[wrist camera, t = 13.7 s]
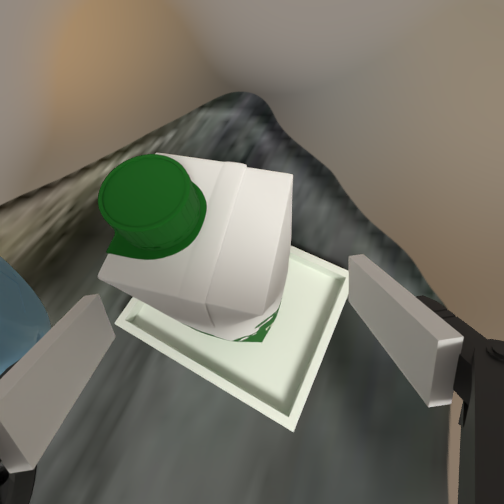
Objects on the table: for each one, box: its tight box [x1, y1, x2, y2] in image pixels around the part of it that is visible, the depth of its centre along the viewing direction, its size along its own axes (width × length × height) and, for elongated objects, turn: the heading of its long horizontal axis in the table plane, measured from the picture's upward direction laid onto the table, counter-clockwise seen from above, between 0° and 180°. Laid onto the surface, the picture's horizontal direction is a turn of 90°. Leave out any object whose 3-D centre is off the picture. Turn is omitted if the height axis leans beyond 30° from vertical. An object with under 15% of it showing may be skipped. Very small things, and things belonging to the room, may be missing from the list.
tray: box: [114, 246, 349, 432], centre depth 29 cm, size 20×16×2 cm
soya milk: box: [98, 153, 293, 342], centre depth 20 cm, size 9×9×20 cm
